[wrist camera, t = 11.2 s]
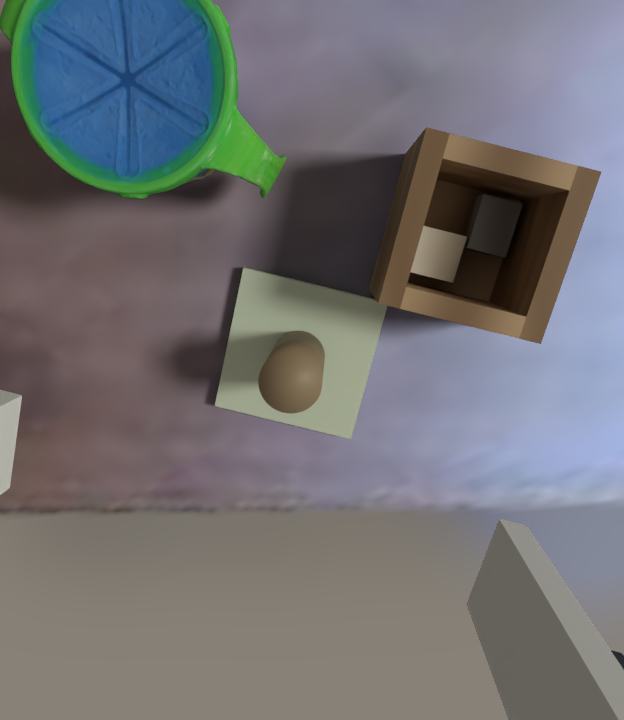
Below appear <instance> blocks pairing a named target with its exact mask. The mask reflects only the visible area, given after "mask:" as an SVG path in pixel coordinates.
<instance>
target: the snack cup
mask: <svg viewBox="0 0 624 720" xmlns="http://www.w3.org/2000/svg"><path fill="white" fill-rule="evenodd" d="M0 28H1V30H2V32H3V33H4V34H5V36H6V37H7V38H8V40H9V41H10V42H11V44H12V49H11V72H12V82H13V88H14V92H15V96H16V100H17V103H18V106H19V109H20V111H21V113H22V116H23V119H24V121H25V122H26V124H27V126H28V131H29V133H30V135H31V136H32V138H33V139H34V141H35V142H36V143H37V145H38V146H39V147H40V148H41V149H43V150H44V152H45V153H46V154H47V155H48V156H49V157H50V158H51V159H52V160H53V161H54V162H55V163H56V164H57V165H58V166H59V167H61V168H62V169H63V170H65V171H66V172H67V173H68V174H70V175H71V176H73V177H75V178H76V179H78V180H80V181H82V182H84V183H86V184H88V185H91V186H93V187H95V188H98V189H101V190H104V191H108V192H112V193H116V194H119V195H120V196H121V197H123V198H130V199H143V198H146V197H147V196H149V195H151V194H156V193H161V192H165V191H169V190H172V189H174V188H176V187H178V186H180V185H182V184H184V183H190V182H193V181H198V180H200V179H203V178H205V177H207V176H208V175H210V174H212V173H213V172H214V171H216V170H218V171H220V172H224V173H228V174H231V175H234V176H238V177H240V178H242V179H244V180H246V181H248V182H250V183H252V184H254V185H256V186H258V187H260V188H261V190H260V195H261V197H262V198H265V197H266V196H267V194H268V193H269V191H270V190H271V187H272V185H273V183H274V182H275V180H276V178H277V176H278V174H279V173H280V171H281V169H282V168H283V165H284V163H285V161H286V158H287V157H286V156H285V155H283V156H281V157H278V156H276V155H275V154H274V153H273V152H272V151H271V150H270V148H269V147H268V146H267V145H266V143H265V142H263V141H262V140H261V139H260V137H259V136H258V135H257V134H256V133H255V132H254V130H253V129H252V128H251V126H250V125H249V124H248V123H247V122H246V121H245V119H244V118H243V117H242V115H241V114H240V113H239V111H238V109H237V99H238V72H237V63H236V58H235V53H234V49H233V46H232V42H231V39H230V27H229V25H228V23H227V21H226V19H225V17H224V15H223V13H222V11H221V9H220V8H219V7H218V6H217V5H214V4H213V3H212V2H211V0H6V3H5V5H4V7H3V10H2V13H1V17H0Z"/></svg>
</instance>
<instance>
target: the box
mask: <svg viewBox="0 0 624 720" xmlns="http://www.w3.org/2000/svg"><path fill="white" fill-rule="evenodd" d="M600 174H601V172H600V171H596V170H592V169H588V168H584V167H581V166H577V165H573V164H569V163H565V162H561V161H557V160H553V159H549V158H545V157H541V156H537V155H533V154H529V153H525V152H521V151H517V150H513V149H509V148H506V147H502V146H498V145H494V144H490V143H486V142H482V141H478V140H474V139H470V138H466V137H462V136H458V135H454V134H450V133H446V132H442V131H438V130H434V129H431V128H427V127H426V129H425V130H424V131H423V132H422V134H421V135H420V136H419V137H418V139H417V140H416V141H415V142H414V144H413V145H412V146H411V147H410V149H409V150H408V151H407V152H406V154H405V157H404V161H403V165H402V168H401V172H400V176H399V180H398V183H397V187H396V191H395V194H394V198H393V202H392V206H391V209H390V213H389V217H388V221H387V224H386V228H385V232H384V236H383V239H382V243H381V247H380V250H379V254H378V258H377V262H376V265H375V269H374V273H373V277H372V280H371V284H370V288H369V290H370V292H371V293H372V295H373V296H374V298H375V299H376V301H377V302H378V303H379V304H383V305H387V306H391V307H395V308H399V309H403V310H407V311H411V312H415V313H419V314H423V315H427V316H431V317H435V318H439V319H443V320H447V321H451V322H455V323H459V324H463V325H467V326H471V327H475V328H479V329H483V330H487V331H491V332H495V333H499V334H503V335H507V336H511V337H515V338H519V339H523V340H527V341H531V342H535V343H539V344H541V342H542V339H543V336H544V333H545V330H546V327H547V325H548V322H549V319H550V316H551V313H552V310H553V308H554V305H555V302H556V299H557V296H558V293H559V291H560V288H561V285H562V282H563V279H564V276H565V274H566V271H567V268H568V265H569V262H570V259H571V257H572V254H573V251H574V248H575V245H576V242H577V240H578V237H579V234H580V231H581V228H582V225H583V223H584V220H585V217H586V214H587V211H588V208H589V205H590V203H591V200H592V197H593V194H594V191H595V188H596V186H597V183H598V180H599V177H600Z"/></svg>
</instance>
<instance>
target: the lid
mask: <svg viewBox="0 0 624 720" xmlns="http://www.w3.org/2000/svg"><path fill="white" fill-rule="evenodd" d="M386 310H387V305H383V304H379V303H378V302H377V301H376V299H373V298H369V297H365V296H361V295H357V294H353V293H349V292H345V291H341V290H337V289H332V288H328V287H324V286H320V285H316V284H312V283H308V282H304V281H300V280H296V279H292V278H288V277H284V276H280V275H276V274H272V273H268V272H263V271H259V270H255V269H251V268H247V267H244V268H243V272H242V277H241V281H240V286H239V291H238V296H237V301H236V305H235V310H234V315H233V320H232V325H231V330H230V334H229V339H228V344H227V349H226V354H225V359H224V363H223V368H222V373H221V378H220V383H219V387H218V392H217V397H216V402H215V406H217V407H221V408H225V409H229V410H233V411H237V412H241V413H245V414H249V415H254V416H258V417H262V418H266V419H270V420H274V421H278V422H282V423H286V424H290V425H295V426H299V427H303V428H307V429H311V430H315V431H319V432H323V433H327V434H331V435H336V436H340V437H344V438H348V439H351V437H352V433H353V429H354V426H355V422H356V419H357V415H358V411H359V408H360V404H361V400H362V397H363V393H364V390H365V386H366V382H367V379H368V375H369V371H370V368H371V364H372V360H373V357H374V353H375V350H376V346H377V342H378V339H379V335H380V331H381V328H382V324H383V320H384V317H385V313H386Z"/></svg>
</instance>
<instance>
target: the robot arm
mask: <svg viewBox="0 0 624 720" xmlns="http://www.w3.org/2000/svg"><path fill="white" fill-rule="evenodd" d="M21 400H22V395H19V394H15V393H11V392H7V391H3V390H0V495H1V494H2V493H4V492H5V491H6V490H7V489H9V488H10V482H11V474H12V467H13V459H14V452H15V445H16V437H17V430H18V422H19V415H20V408H21ZM467 606H468V610H469V612H470V615H471V618H472V621H473V623H474V626H475V629H476V631H477V634H478V637H479V640H480V642H481V645H482V648H483V651H484V653H485V656H486V659H487V662H488V664H489V667H490V670H491V673H492V675H493V678H494V681H495V684H496V686H497V689H498V692H499V694H500V697H501V700H502V703H503V705H504V708H505V711H506V714H507V716H508V719H509V720H624V656H623V655H622V654H621V653H619V652H615V651H611V650H610V649H609V647H608V646H607V644H606V643H605V641H604V640H603V638H602V637H601V635H600V634H599V633H598V631H597V629H596V628H595V626H594V625H593V623H592V622H591V621H590V619H589V618H588V616H587V615H586V613H585V612H584V610H583V609H582V607H581V606H580V604H579V603H578V601H577V600H576V598H575V597H574V595H573V594H572V592H571V591H570V589H569V588H568V586H567V585H566V584H565V582H564V581H563V579H562V578H561V576H560V575H559V573H558V572H557V570H556V569H555V567H554V566H553V564H552V563H551V561H550V560H549V558H548V557H547V555H546V554H545V552H544V551H543V549H542V548H541V546H540V545H539V543H538V542H537V540H536V539H535V538H534V536H533V535H532V533H531V532H530V530H529V529H528V527H527V526H525V525H521V524H517V523H514V522H510V521H506V520H502V519H499V521H498V523H497V526H496V529H495V531H494V534H493V537H492V539H491V542H490V545H489V547H488V550H487V553H486V555H485V558H484V560H483V563H482V566H481V568H480V571H479V573H478V576H477V579H476V581H475V584H474V586H473V589H472V592H471V594H470V597H469V600H468V602H467Z"/></svg>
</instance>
